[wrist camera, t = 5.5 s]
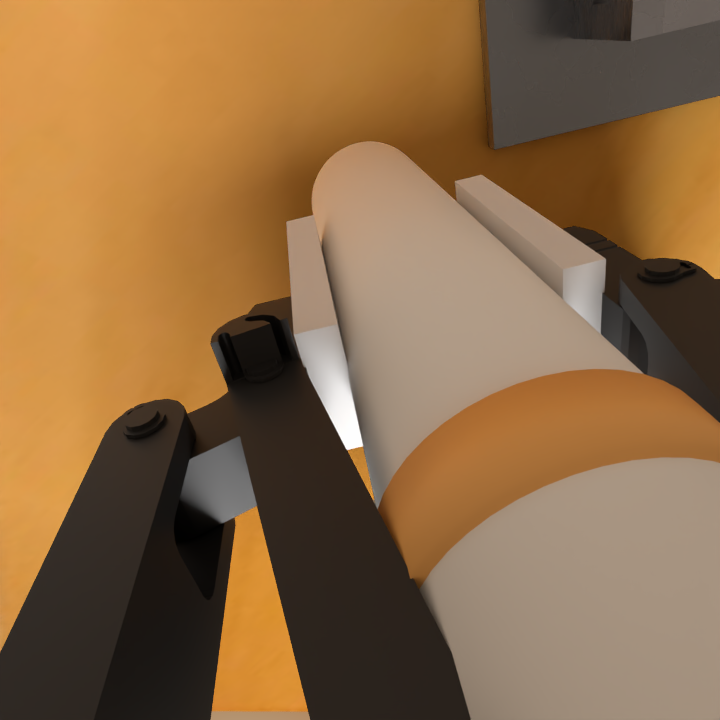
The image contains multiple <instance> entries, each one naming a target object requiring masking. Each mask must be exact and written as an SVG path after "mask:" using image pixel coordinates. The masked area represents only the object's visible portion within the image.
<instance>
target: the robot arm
mask: <svg viewBox="0 0 720 720" xmlns="http://www.w3.org/2000/svg"><path fill="white" fill-rule="evenodd" d="M455 189H456V199H457V202H458V203H459V204H460V205H461V206H462V207H463V208H464V209H465V210H466V211H467V212H468V213H470V214H471V215H472V216H473V217H474V218H475V219H476V220H477V221H478V222H479V223H480V224H482V225H483V226H484V227H485V228H486V229H487V230H488V231H489V232H490V233H491V234H492V235H493V236H495V237H496V238H497V239H498V240H499V241H500V242H501V243H502V244H503V245H504V246H505V247H507V248H508V249H509V250H510V251H511V252H512V253H513V254H514V255H515V256H516V257H517V258H519V259H520V260H521V261H522V262H523V263H524V264H525V265H526V266H527V267H528V268H529V269H530V270H532V271H533V272H534V273H535V274H536V275H537V276H538V277H539V278H540V279H541V280H542V281H544V282H545V283H546V284H547V285H548V286H549V287H550V288H551V289H552V290H553V291H554V292H555V293H557V294H558V295H559V296H560V297H561V298H562V299H563V300H564V301H565V302H566V303H567V304H569V305H570V306H571V307H572V308H573V309H574V310H575V311H576V312H577V313H578V314H579V315H581V316H582V317H583V318H584V319H585V320H586V321H587V322H588V323H589V324H590V325H591V326H592V327H594V328H595V329H596V330H597V331H598V332H599V333H600V334H601V335H602V336H603V337H604V338H606V339H607V340H608V341H609V342H610V343H611V344H612V345H613V346H614V347H615V348H616V349H617V350H619V351H620V352H621V353H622V354H623V355H624V356H625V357H626V358H627V359H628V360H629V361H631V362H632V363H633V364H634V365H635V366H636V367H637V368H638V369H639V370H640V371H641V372H643V373H644V374H645V375H648V376H651V377H654V378H657V379H660V380H663V381H665V382H667V383H669V384H671V385H673V386H675V387H676V388H678V389H680V390H682V391H683V392H684V393H685V394H687V395H688V396H689V397H690V398H692V399H693V400H694V401H695V402H696V403H698V404H699V405H700V406H701V407H702V408H703V409H705V410H706V411H707V412H708V413H709V414H710V415H711V416H713V417H714V418H715V419H716V420H717V421H718V422H719V423H720V279H714V278H713V277H712V276H710V275H709V274H708V273H707V272H706V271H705V270H704V269H703V268H701V267H699V266H697V265H696V264H694V263H692V262H689V261H685V260H679V259H668V258H657V259H646V260H641V259H639V258H637V257H636V256H634V255H633V254H631V253H629V252H628V251H626V250H624V249H623V248H621V247H617V245H616V244H615V243H613V242H611V241H610V240H608V241H607V238H605V237H603V236H602V235H600V234H598V233H597V232H595V231H593V230H589V229H584V228H580V227H576V226H572V227H568V228H564V229H561V228H560V227H558V226H557V225H555V224H554V223H552V222H551V221H549V220H548V219H546V218H545V217H543V216H542V215H541V214H539V213H538V212H536V211H535V210H533V209H532V208H530V207H529V206H527V205H526V204H524V203H523V202H521V201H520V200H518V199H517V198H515V197H514V196H512V195H511V194H510V193H508V192H507V191H505V190H504V189H502V188H501V187H499V186H498V185H496V184H495V183H493V182H492V181H490V180H489V179H487V178H486V177H484V176H483V175H478V176H474V177H470V178H465V179H461V180H457V181H455ZM286 225H287V240H288V255H289V271H290V286H291V296H290V297H286V298H282V299H278V300H273V301H269V302H265V303H261V304H257V305H255V306H254V307H253V308H252V310H251V311H250V312H249V313H248V314H247V315H243V316H241V317H238V318H236V319H234V320H231V321H229V322H228V323H226V324H225V325H223V326H222V327H220V328H219V329H218V330H217V331H216V332H215V333H214V334H213V336H212V338H211V343H210V344H211V346H212V349H213V351H214V354H215V356H216V359H217V361H218V364H219V366H220V369H221V371H222V374H223V376H224V379H225V381H226V384H227V387H228V391H229V392H227V393H226V394H225V395H224V396H222V397H221V398H219V399H218V400H216V401H214V402H212V403H210V404H208V405H207V406H204V407H202V408H200V409H197V410H195V411H193V412H191V413H188V414H187V412H186V410H185V408H184V406H183V405H182V404H181V403H179V402H178V401H175V400H170V399H163V400H154V401H151V402H148V403H143V404H140V405H137V406H135V407H134V408H131V409H130V410H128V411H126V412H125V413H124V414H123V415H122V416H120V417H119V418H118V419H117V420H115V421H114V422H113V423H112V425H111V426H110V427H109V429H108V430H107V431H106V433H105V435H104V437H103V439H102V441H101V443H100V445H99V447H98V450H97V452H96V454H95V456H94V458H93V460H92V462H91V464H90V466H89V468H88V470H87V472H86V475H85V477H84V479H83V481H82V483H81V485H80V487H79V489H78V491H77V493H76V495H75V498H74V500H73V502H72V504H71V506H70V508H69V510H68V512H67V514H66V516H65V518H64V521H63V523H62V525H61V527H60V529H59V531H58V533H57V535H56V537H55V539H54V541H53V544H52V546H51V548H50V550H49V552H48V554H47V556H46V558H45V560H44V562H43V564H42V566H41V569H40V571H39V573H38V575H37V577H36V579H35V581H34V583H33V585H32V587H31V589H30V592H29V594H28V596H27V598H26V600H25V602H24V604H23V606H22V608H21V610H20V612H19V615H18V617H17V619H16V621H15V623H14V625H13V627H12V629H11V631H10V633H9V635H8V638H7V640H6V642H5V644H4V646H3V648H2V650H1V652H0V720H210V719H211V711H212V703H213V695H214V688H215V680H216V672H217V664H218V656H219V649H220V641H221V633H222V625H223V617H224V610H225V602H226V594H227V586H228V579H229V571H230V563H231V555H232V547H233V540H234V532H235V518H234V517H236V516H238V515H240V514H242V513H244V512H246V511H247V510H249V509H251V508H253V507H255V506H257V508H258V512H259V516H260V520H261V524H262V528H263V532H264V536H265V540H266V544H267V548H268V552H269V556H270V560H271V564H272V568H273V572H274V576H275V580H276V584H277V588H278V592H279V596H280V600H281V604H282V608H283V612H284V616H285V620H286V624H287V628H288V632H289V636H290V640H291V644H292V648H293V652H294V656H295V660H296V664H297V668H298V672H299V676H300V680H301V684H302V688H303V692H304V696H305V700H306V704H307V708H308V712H309V716H310V720H471V718H470V714H469V711H468V707H467V704H466V700H465V697H464V693H463V690H462V687H461V683H460V680H459V676H458V673H457V669H456V666H455V662H454V659H453V655H452V652H451V650H450V648H449V646H448V645H447V643H446V641H445V639H444V637H443V635H442V633H441V631H440V629H439V627H438V625H437V623H436V621H435V619H434V617H433V616H432V614H431V612H430V610H429V608H428V606H427V604H426V602H425V600H424V598H423V596H422V594H421V592H420V590H419V588H418V587H417V585H416V583H415V581H414V579H413V578H412V579H410V576H409V572H408V568H407V565H406V563H405V561H404V560H403V558H402V556H401V554H400V552H399V550H398V548H397V546H396V544H395V542H394V540H393V538H392V536H391V534H390V532H389V531H388V529H387V527H386V525H385V523H384V521H383V519H382V517H381V515H380V513H379V511H378V509H377V507H376V504H375V500H372V498H371V496H370V494H369V492H368V490H367V488H366V486H365V484H364V482H363V480H362V478H361V476H360V475H359V473H358V471H357V469H356V467H355V465H354V463H353V461H352V459H351V457H350V455H349V453H348V451H347V450H349V449H353V448H357V447H361V446H363V443H362V439H361V434H360V429H359V425H358V420H357V415H356V411H355V406H354V401H353V397H352V392H351V387H350V382H349V370H348V364H347V359H346V355H345V351H344V346H343V342H342V337H341V333H340V328H339V324H338V319H337V315H336V310H335V306H334V301H333V297H332V292H331V288H330V283H329V279H328V274H327V270H326V265H325V261H324V256H323V252H322V247H321V243H320V239H319V235H318V231H317V227H316V223H315V219H314V215H311V216H307V217H303V218H299V219H295V220H291V221H286Z"/></svg>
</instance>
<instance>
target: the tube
mask: <svg viewBox="0 0 720 720" xmlns="http://www.w3.org/2000/svg"><path fill="white" fill-rule="evenodd" d="M312 211H313V215H314V219H315V223H316V227H317V231H318V235H319V239H320V243H321V247H322V252H323V256H324V261H325V265H326V270H327V274H328V279H329V283H330V288H331V292H332V297H333V301H334V306H335V310H336V315H337V319H338V324H339V328H340V333H341V337H342V342H343V346H344V351H345V355H346V359H347V364H348V370H349V382H350V387H351V392H352V397H353V401H354V406H355V411H356V415H357V420H358V425H359V429H360V434H361V439H362V443H363V448H364V452H365V457H366V462H367V466H368V471H369V476H370V480H371V485H372V490H373V494H374V499H375V504H376V507H377V509H378V511H379V513H380V515H381V517H382V519H383V521H384V523H385V525H386V527H387V529H388V531H389V532H390V534H391V536H392V538H393V540H394V542H395V544H396V546H397V548H398V550H399V552H400V554H401V556H402V558H403V560H404V561H405V563H406V565H407V568H408V572H409V576H410V579H412V578H413V579H414V581H415V583H416V585H417V587H418V588H419V590H420V592H421V594H422V596H423V598H424V600H425V602H426V604H427V606H428V608H429V610H430V612H431V614H432V616H433V617H434V619H435V621H436V623H437V625H438V627H439V629H440V631H441V633H442V635H443V637H444V639H445V641H446V643H447V645H448V646H449V648H450V650H451V652H452V655H453V659H454V662H455V666H456V669H457V673H458V676H459V680H460V683H461V687H462V690H463V693H464V697H465V700H466V704H467V707H468V711H469V714H470V718H471V720H720V423H719V422H718V421H717V420H716V419H715V418H714V417H713V416H711V415H710V414H709V413H708V412H707V411H706V410H705V409H703V408H702V407H701V406H700V405H699V404H698V403H696V402H695V401H694V400H693V399H692V398H690V397H689V396H688V395H687V394H685V393H684V392H683V391H682V390H680V389H678V388H676V387H675V386H673V385H671V384H669V383H667V382H665V381H663V380H660V379H657V378H654V377H651V376H648V375H645V374H644V373H643V372H641V371H640V370H639V369H638V368H637V367H636V366H635V365H634V364H633V363H632V362H631V361H629V360H628V359H627V358H626V357H625V356H624V355H623V354H622V353H621V352H620V351H619V350H617V349H616V348H615V347H614V346H613V345H612V344H611V343H610V342H609V341H608V340H607V339H606V338H604V337H603V336H602V335H601V334H600V333H599V332H598V331H597V330H596V329H595V328H594V327H592V326H591V325H590V324H589V323H588V322H587V321H586V320H585V319H584V318H583V317H582V316H581V315H579V314H578V313H577V312H576V311H575V310H574V309H573V308H572V307H571V306H570V305H569V304H567V303H566V302H565V301H564V300H563V299H562V298H561V297H560V296H559V295H558V294H557V293H555V292H554V291H553V290H552V289H551V288H550V287H549V286H548V285H547V284H546V283H545V282H544V281H542V280H541V279H540V278H539V277H538V276H537V275H536V274H535V273H534V272H533V271H532V270H530V269H529V268H528V267H527V266H526V265H525V264H524V263H523V262H522V261H521V260H520V259H519V258H517V257H516V256H515V255H514V254H513V253H512V252H511V251H510V250H509V249H508V248H507V247H505V246H504V245H503V244H502V243H501V242H500V241H499V240H498V239H497V238H496V237H495V236H493V235H492V234H491V233H490V232H489V231H488V230H487V229H486V228H485V227H484V226H483V225H482V224H480V223H479V222H478V221H477V220H476V219H475V218H474V217H473V216H472V215H471V214H470V213H468V212H467V211H466V210H465V209H464V208H463V207H462V206H461V205H460V204H459V203H458V202H457V201H455V200H454V199H453V198H452V197H451V196H450V195H449V194H448V193H447V192H446V191H445V190H443V189H442V188H441V187H440V186H439V185H438V184H437V183H436V182H435V181H434V180H433V179H431V178H430V177H429V176H428V175H427V174H426V173H425V172H424V171H423V170H422V169H421V168H420V167H418V166H417V165H416V164H415V163H414V162H413V161H412V160H411V159H410V158H409V157H408V156H406V155H405V154H404V153H403V152H402V151H400V150H398V149H397V148H395V147H393V146H391V145H388V144H385V143H381V142H374V141H365V142H359V143H355V144H352V145H349V146H347V147H345V148H342V149H341V150H339V151H338V152H336V153H335V154H334V155H333V156H331V157H330V158H329V159H328V160H327V162H326V163H325V164H324V165H323V167H322V168H321V170H320V171H319V173H318V175H317V177H316V180H315V183H314V186H313V191H312Z"/></svg>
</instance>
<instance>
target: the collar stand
mask: <svg viewBox="0 0 720 720" xmlns="http://www.w3.org/2000/svg"><path fill="white" fill-rule="evenodd" d="M479 12H480V26H481V41H482V56H483V71H484V85H485V100H486V115H487V130H488V144H489V147H491V148H492V149H494V150H495V149H499V148H503V147H507V146H512V145H516V144H520V143H524V142H528V141H532V140H537V139H541V138H545V137H549V136H553V135H558V134H562V133H566V132H570V131H574V130H578V129H583V128H587V127H591V126H595V125H599V124H603V123H608V122H612V121H616V120H620V119H624V118H628V117H633V116H637V115H641V114H645V113H649V112H653V111H658V110H662V109H666V108H670V107H674V106H678V105H683V104H687V103H691V102H695V101H699V100H703V99H708V98H712V97H716V96H720V0H479Z"/></svg>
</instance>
